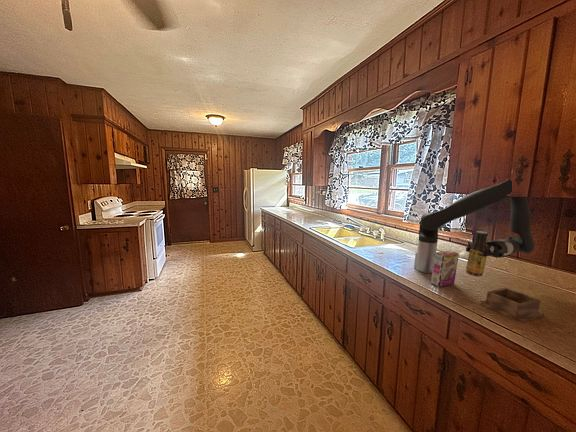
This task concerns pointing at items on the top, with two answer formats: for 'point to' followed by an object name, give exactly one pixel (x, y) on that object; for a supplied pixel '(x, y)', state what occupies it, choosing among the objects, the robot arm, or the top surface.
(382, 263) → the top surface
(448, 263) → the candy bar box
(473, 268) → the sauce bottle
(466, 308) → the top surface
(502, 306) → the walnut caddy
